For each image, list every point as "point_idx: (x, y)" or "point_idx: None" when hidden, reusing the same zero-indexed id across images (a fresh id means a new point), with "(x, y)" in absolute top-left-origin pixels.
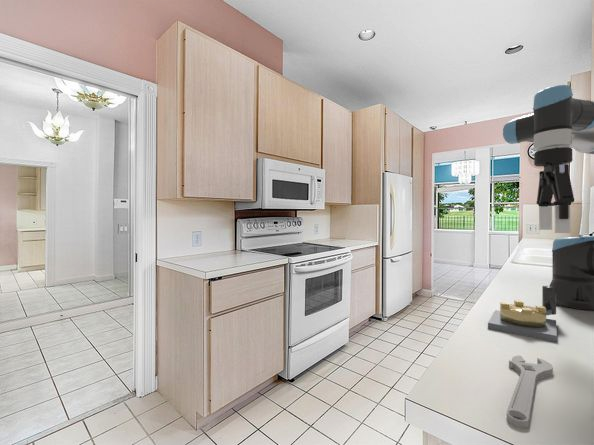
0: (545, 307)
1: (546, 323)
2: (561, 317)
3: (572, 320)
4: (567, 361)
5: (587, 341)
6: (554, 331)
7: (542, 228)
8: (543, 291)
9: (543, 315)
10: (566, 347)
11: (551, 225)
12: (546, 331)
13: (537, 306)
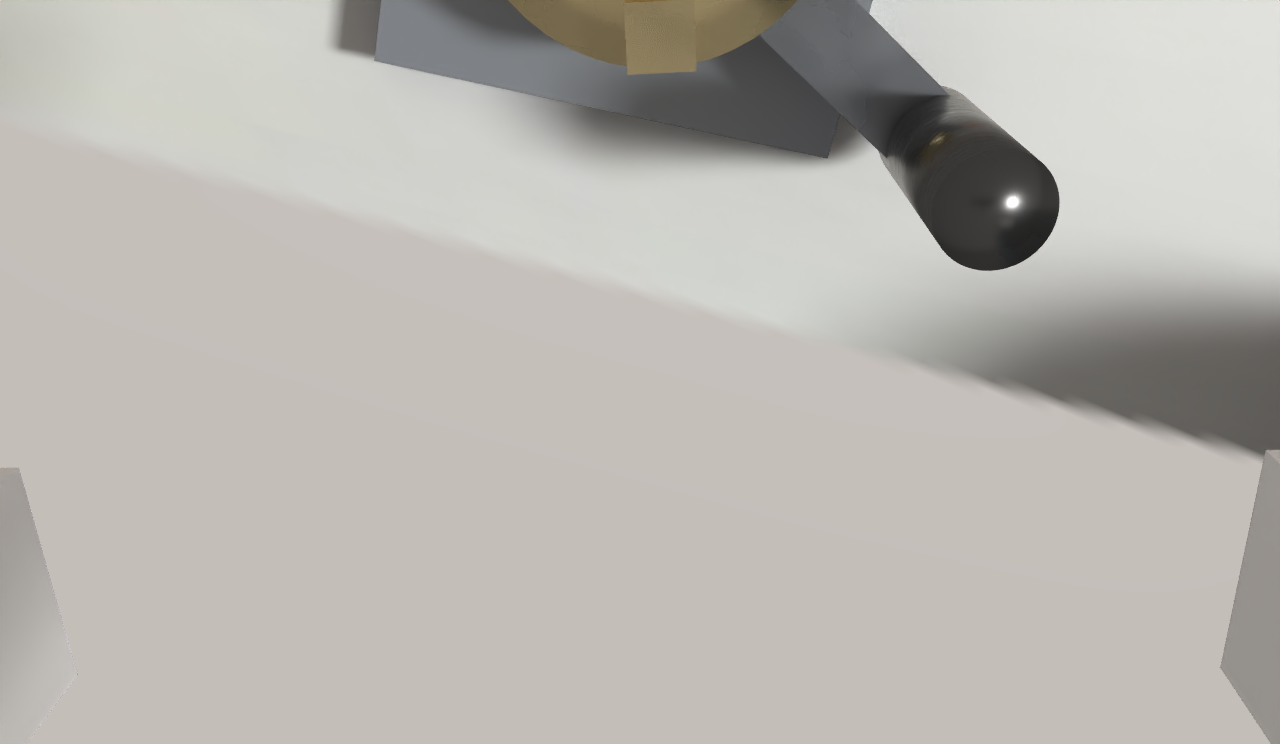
0: (908, 114)
1: None
2: (1103, 246)
3: (1037, 302)
4: (20, 26)
5: (521, 254)
6: (481, 70)
7: (1267, 515)
8: (964, 139)
9: (537, 26)
10: (303, 89)
11: (1270, 729)
12: (444, 10)
13: (662, 9)
